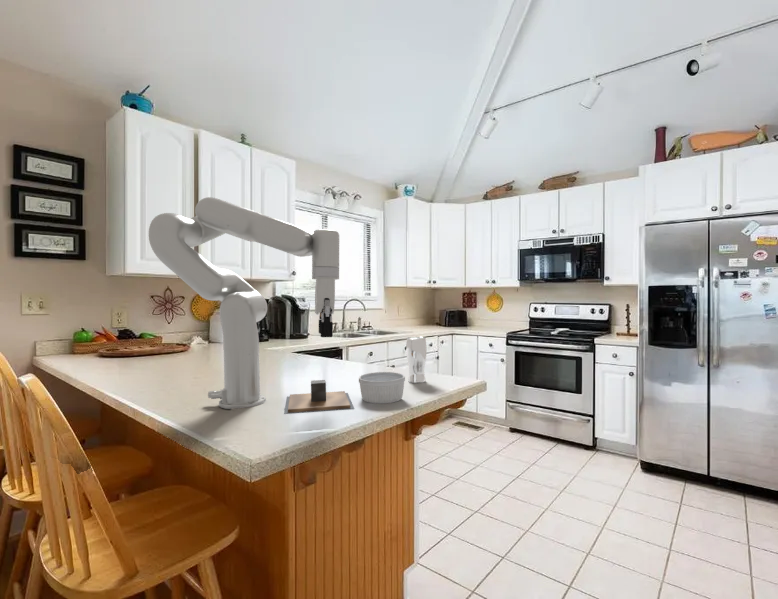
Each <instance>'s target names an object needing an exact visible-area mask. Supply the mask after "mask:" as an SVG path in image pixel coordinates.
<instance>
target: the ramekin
mask: <svg viewBox="0 0 778 599" xmlns="http://www.w3.org/2000/svg"><path fill="white" fill-rule="evenodd" d="M405 381H406V376H405V374H403V373H400V372H395V371H377V372H368V373H364V374H361V375H359V377H358V384H359V387H360V388H359V389H360V393H361V399H362V400H363V401H364V402H366V403H370V404H392V403H396V402H399V401H401V400H402V399H403V396H404V387H405V386H404V385H405Z"/></svg>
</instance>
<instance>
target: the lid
mask: <svg viewBox="0 0 778 599" xmlns="http://www.w3.org/2000/svg"><path fill="white" fill-rule="evenodd" d="M346 393H347V392H346V391H345V390H343V391H342V390H341V391H329V392H328V391H327V382H326V379H317V380H315V379H313V380H310V393H309V392H308V393H294V394H289V396H290V399H289V406H288V413H289V412H303V411H317V410H331V409H345V408H350V403H349V401H348V398H347V396H346Z"/></svg>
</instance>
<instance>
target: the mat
mask: <svg viewBox="0 0 778 599" xmlns="http://www.w3.org/2000/svg"><path fill="white" fill-rule="evenodd" d="M345 393H346V396H347V398H348V401H349V403H350V408H345V409H331V410H317V411H303V412H289V413H288V406H289V399H290V395H288V396H286V400H285V404H284V412H283V415H291V414H304V413H307V414H308V413H319V412H332V411H333V412H335V411H346V410H348V411H349V410H355V406H354V405H353V402H352V400H351V397H350V396H349V392H345Z"/></svg>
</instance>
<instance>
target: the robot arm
mask: <svg viewBox="0 0 778 599" xmlns="http://www.w3.org/2000/svg"><path fill="white" fill-rule="evenodd" d="M194 211H195V212H194V213H195V216H193V217H191V218H189V217H187V216H183V215H182V214H177V213H173V212H164V213H160V214H158V215H156V216H154V218H153V219H152V220H151V221H150V224H149V228H148V240H149V241H148V242H149V244H150V247H151V250H152V252H153V253H154V254H155V256H156V257H157V259H158V260H159V261H160V262H161V263H163V265H164V266H165V267H167V269H169V270H170V271H171V272H172V273H174V274H175V275H177V276H178V278H179V279H180V280H182V281H183V282H184V283H185V284H186V285H188V287H190V288H191V289H192V290H193V291H194V292H195V293H196V294H198V295H199V296H200V297H201V298H202V299H204V300H207V301H212V302H213V301H219V302H221V303H220V306H219V320H220V324H221V331H222V332H221V333H222V344H223V346H222V347H223V348H222V351H223V380H224V382H223V383H224V384H223V385H224V387H223V389H220V390H209V391H207V392H208V393H207V396H208V398H209V399H211V400H215V399H220V400H219V401H218V407H220V408H221V409H225V410H233V409H243V408H244V409H245V408H252V407H257V406H259V405H262V404H265V403H266V401H267V398H266V396H265V395H263V394H261V380H260V379H261V376H260V372H261V371H260V339H259V330H258V325H257V323H258V322H261V321H262V320H263V319H264V318H265V317H266V315H267V313H268V303H267V300H266V299H265V297H264V296H263V295H262V294H261V293H260V292H259V291H258V290H256V289H255V288H254V287H253V286H252V285H250V284H249V283H248V282H247V281H246V280H244V279H243V278H242V277H241V276H240V275H238V273H235V272H234V271H232V270H230V269H227V268H222V267H217V266H215V265H214V264H213V263H211V262H210V261H209V260H208V259H206V258H205V257H204V256H203V255H202V254H200V253H199V252H198V251H197V250H195V249H194V247H198V246H201V245H203V244H206V243H207V242H209V241H212V240H214V239H217V238H218V237H221V236H223V235H225V234H226V235H230V236H233V237H236V238H238V239H242V240H244V241H247V242H250V243H251V242H255V243H258V244H262V245H263V246H267V247H269V248H273V249H275V250H279V251H281V252H284V253H286V254H290V255H293V256H296V257H300V258H301V257H309V256H311V279H312V280H315V286H314V287H315V288H314V290H315V291H314V301H315V302H314V314H315V315H317V316H318V317H319V318H318V334H320V337H321V338H332V337H333V336H334V335H333V333H334V330H333V328H334V325H333V324H334V323H333V315H334V314H335V301H336V300H335V299H336V280H340V234H339V232H338V231H337V230H336V229H335V230H334V229H331V228H330V229H328V228H323V229H322V228H319V229H315V230H314V231H308V230H305V229H303V228H302V227H300V226H297V225H294V224H292V223H289V222H285V221H283V220H280V219H277V218H274V217H271V216H268V215H264V214H263V213H260V212H258V211H255V210H252V209H248V208H246V207H244V206H240V205H238V204H235V203H231V202H228V201H227V200H223V199H220V198H216V197H211V196H210V197H204V198H202V199H200V200H198V202H197V203H196V205H195V208H194Z"/></svg>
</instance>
